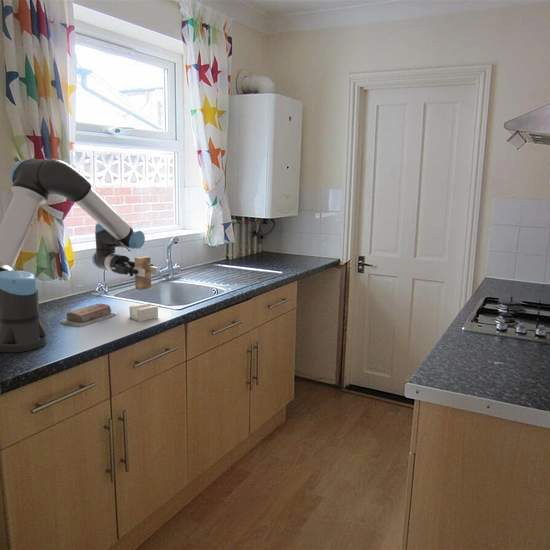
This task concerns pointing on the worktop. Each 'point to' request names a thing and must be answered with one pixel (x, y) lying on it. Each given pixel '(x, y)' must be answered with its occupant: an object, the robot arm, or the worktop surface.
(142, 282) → the oak plank
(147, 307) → the cream stone block
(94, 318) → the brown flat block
